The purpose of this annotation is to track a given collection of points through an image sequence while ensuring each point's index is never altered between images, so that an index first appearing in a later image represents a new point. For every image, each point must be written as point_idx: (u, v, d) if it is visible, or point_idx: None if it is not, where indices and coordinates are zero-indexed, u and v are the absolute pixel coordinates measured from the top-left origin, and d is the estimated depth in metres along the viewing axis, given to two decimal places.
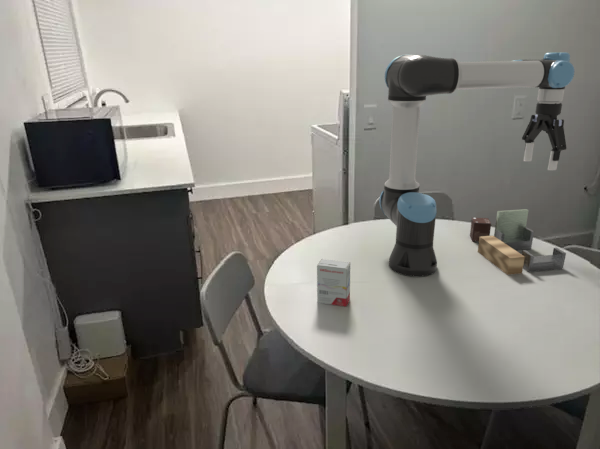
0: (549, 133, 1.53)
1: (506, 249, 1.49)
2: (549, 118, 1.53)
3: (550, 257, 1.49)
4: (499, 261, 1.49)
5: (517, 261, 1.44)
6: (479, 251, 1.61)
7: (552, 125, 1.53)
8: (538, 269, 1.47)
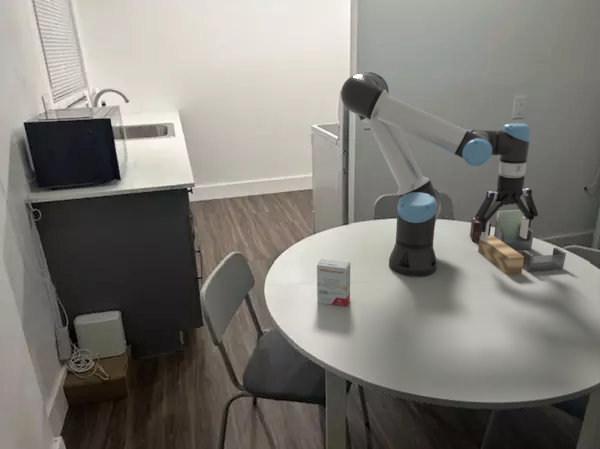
0: None
1: (505, 249, 1.49)
2: None
3: (550, 257, 1.49)
4: (499, 261, 1.49)
5: (516, 261, 1.44)
6: (479, 251, 1.61)
7: None
8: (538, 269, 1.47)
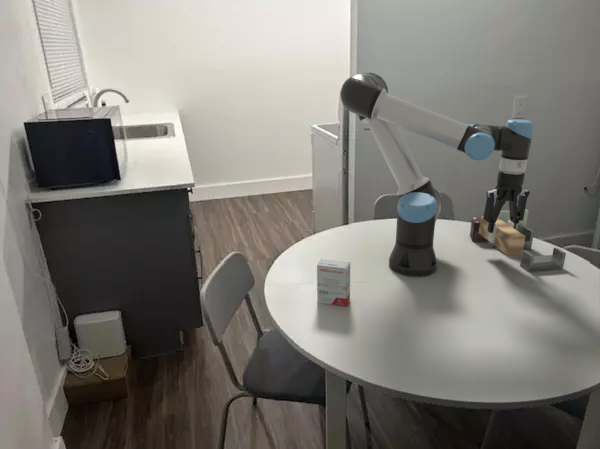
0: None
1: (507, 229, 1.47)
2: None
3: (550, 257, 1.49)
4: (499, 241, 1.47)
5: (517, 241, 1.42)
6: (480, 231, 1.59)
7: None
8: (538, 269, 1.47)
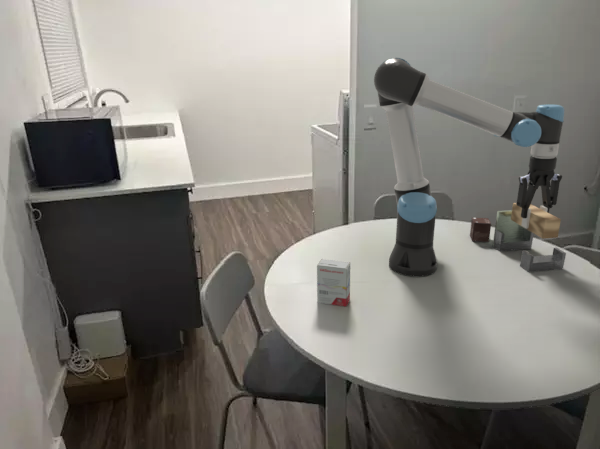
0: None
1: (541, 213, 1.48)
2: None
3: (550, 257, 1.49)
4: (534, 225, 1.48)
5: (552, 224, 1.43)
6: (512, 217, 1.60)
7: None
8: (538, 269, 1.47)
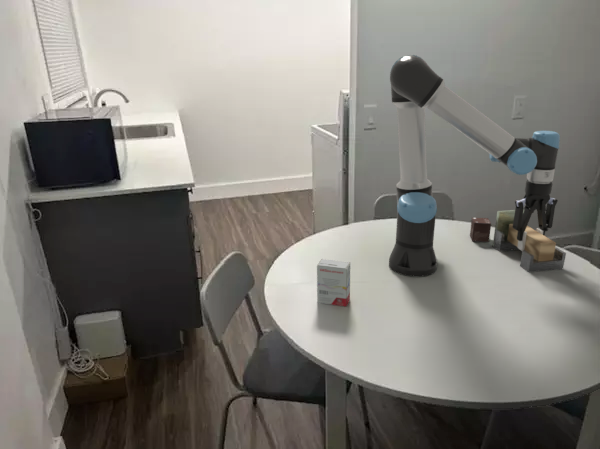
0: None
1: (537, 236, 1.50)
2: None
3: None
4: (530, 247, 1.50)
5: (548, 247, 1.46)
6: (508, 238, 1.62)
7: None
8: (538, 269, 1.47)
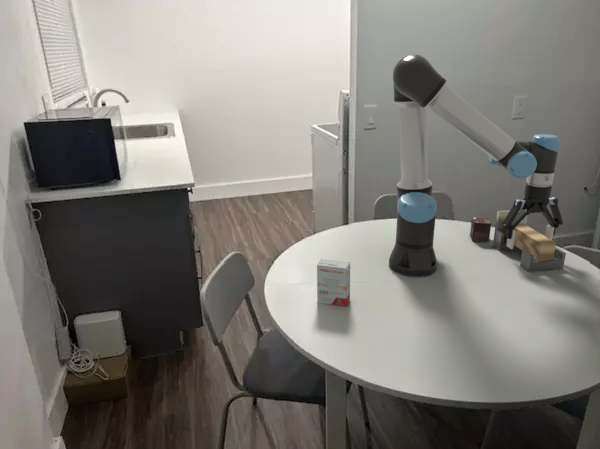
0: None
1: (537, 236, 1.50)
2: None
3: None
4: (530, 247, 1.50)
5: (548, 247, 1.46)
6: None
7: None
8: (538, 269, 1.47)
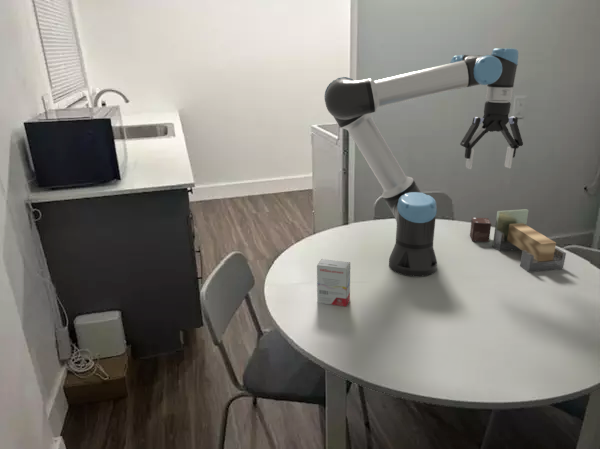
0: None
1: (537, 236, 1.50)
2: None
3: None
4: (530, 247, 1.50)
5: (548, 247, 1.46)
6: (508, 238, 1.62)
7: None
8: (538, 269, 1.47)
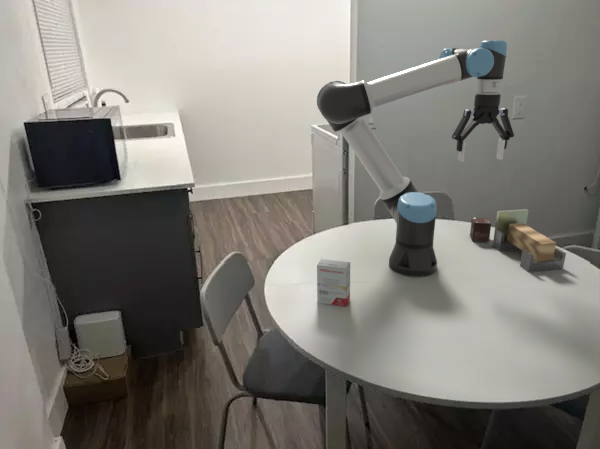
0: None
1: (537, 236, 1.50)
2: None
3: None
4: (530, 247, 1.50)
5: (548, 247, 1.46)
6: (508, 238, 1.62)
7: None
8: (538, 269, 1.47)
